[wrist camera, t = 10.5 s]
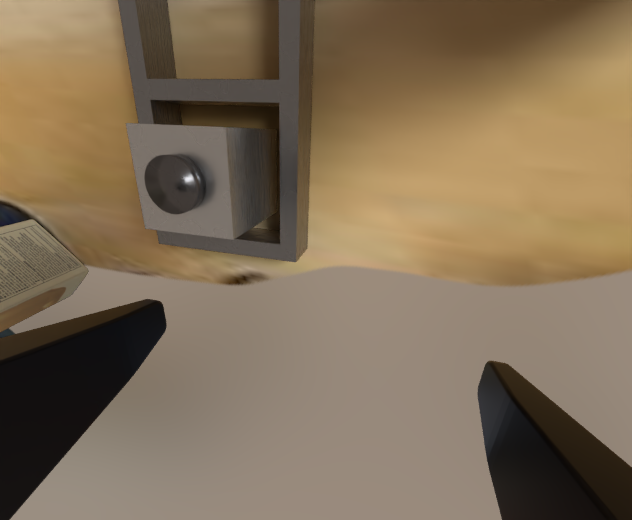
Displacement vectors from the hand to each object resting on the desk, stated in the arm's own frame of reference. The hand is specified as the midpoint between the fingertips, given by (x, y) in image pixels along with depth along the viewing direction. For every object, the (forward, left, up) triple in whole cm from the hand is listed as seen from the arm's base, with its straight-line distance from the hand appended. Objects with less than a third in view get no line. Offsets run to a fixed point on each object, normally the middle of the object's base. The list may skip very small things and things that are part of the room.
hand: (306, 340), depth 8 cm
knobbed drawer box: (+8, -3, -12) cm, 15 cm away
